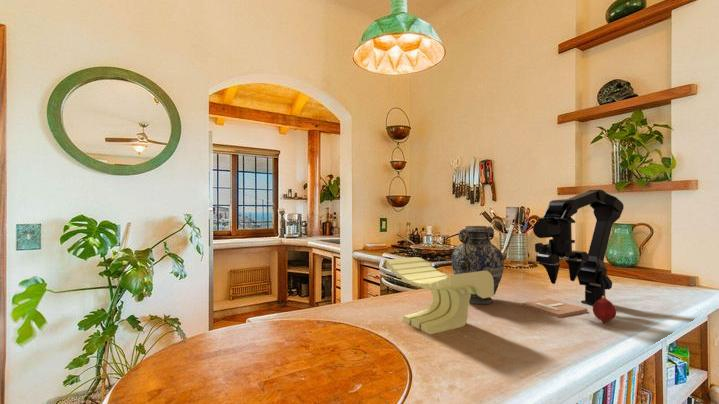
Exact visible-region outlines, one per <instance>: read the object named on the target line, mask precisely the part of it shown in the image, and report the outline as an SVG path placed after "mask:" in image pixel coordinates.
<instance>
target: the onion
mask: <svg viewBox="0 0 719 404" xmlns="http://www.w3.org/2000/svg"><path fill="white" fill-rule="evenodd" d="M606 297H607V296H606V295H605V296H602V298H601V299H600V300H598V301H596V302H595V303H594V305H592V312H593V314H594V316H595V317H596V318H597V319H598V320H599V321H600V322H602V323H603V324H605V323H606V324H607V323H609V322H610V321H612V320H613V319H615V317H616V316H617V308H616V307H615V305H614V303H612V302H611V300H608V298H606Z"/></svg>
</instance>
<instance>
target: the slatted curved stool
mask: <svg viewBox="0 0 719 404" xmlns="http://www.w3.org/2000/svg"><path fill="white" fill-rule="evenodd" d="M386 269H388V270H391V273H392V274H395V275H396V278H399V279H401V282H403V283H405V284H408V285H409V284H410V285H411V286H414V287H418V288H420V289H424V290H427V291H430V293H431V294H432V304H431V305H430V306H428V308H426V309H423V310H420V311H418V312H415V313H409V314H405V315H403V318H402V320H401V321H402V322H404V323H405V324H408V325H411V327H414V328H416V329H418V330H421V331H422V332H424V333H426V334H428V335H433V334H436V333H441V332H445V331H449V330H454V329H458V328H463V327H465V325H466V324H467V320H468V316H469V315H468V313H469V305H470V303H469V301H470V297H471V294H477V295H478V296H480V297H481V298H488V297H491V298H494V297H495V295H494V280H493V276H492V275H491V273H490V272H488V271H478V272H470V273H463V274H455V275H454V274H450V275H448V274H446V273H443V272H441V271H439V270H438V268H436V267H433V266H432V264H431V263H428V262H427V260H426V259H424V258H422V257H418V256H413V257H403V258H402V257H401V258H391V259H390V258H389V259H386Z"/></svg>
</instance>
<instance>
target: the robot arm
mask: <svg viewBox="0 0 719 404" xmlns="http://www.w3.org/2000/svg"><path fill="white" fill-rule="evenodd" d="M586 206H589V207H590V208H591V209H593V211H592V212H593V214H594V215H593V216H594V217H595V219H596V222H595V226H594V230H593V233H592V237H591V240H590V245H589V248H588V252H586V251H583V250H582V251H581V250H573V244H575V243H576V240H575V239H572V238H573V237H572V234H573V233H572V229H573V228H572V224H575V223H576V220H575V219H573V218H572V217H573V216H574V215H575V214H577V213H578V210H579V209H581V208H584V207H586ZM623 210H624V203H623V202H622V201H621V200H620V199H619V198H618V197H617V196H614V195H611V194H610V193H608V192H606V191H605V190H604V189H590V190H587V191H586V192H582V193H580V194H578V195H574V196H572V197H569V198H566V199H564V198H563V199H562V198H561V199H554V200H553V199H552V200H551V201H549V202H548V205H547V207H546V209H545V211H544V213H543V215H542V217H538V221H536V222H535V223H534V224H533V228H532V231H533V234H534V236H535V237H537V238H539V239H546V238H550V239H549V240H548V243H546V244H544V243H543V242H538V243H534V252H535V253H537V254H536V255H535V262H536V263H538V264H539V265H540V266H541V265H542V267H544V269H545V271H546V273H547V276H548V277H549V280H550V283H551V285H552V284H553V285H555V284H556V283H557V278H558V274H559V270H560V265H561V264H559V262H560V261H565V262H566V264H567V265H568V272H569V278H570V279H569V281H571V282H575V280H576V278H577V280H578V284H579V286H584V300H581V301H580V302H581V303H584V304H587V305H590V306H593V305H594V303H595V302H596V301H598V300H600V299H601V298H602V296H605V297H606V290H611V289H612V287H613V281H612V280H611V278H610V277H609V275H608V274H607V273H608V272H607V271H608V268H607V266H606V264H605V261H604V260H605V256H606V253H607V249H608V244H609V241H610V236H611V233H612V228H613V225H614V223H615V222H617V221H618V220H619V219H620V217H621V216H622V213H623Z"/></svg>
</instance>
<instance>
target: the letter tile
mask: <svg viewBox="0 0 719 404" xmlns="http://www.w3.org/2000/svg"><path fill="white" fill-rule="evenodd" d="M521 306H522V307H525V308H526V309H530V310H533V311H536V312H541V313H543V314H546V315H549V316H552V317H555V318H563V317H568V316H573V315H578V314H585V313H588V308H586V307H582V306H579V305H574V304H571V303H567V302H562V301H560V300H556V299H552V298H545V299H538V300H533V301H532V300H531V301H526V302H521Z"/></svg>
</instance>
